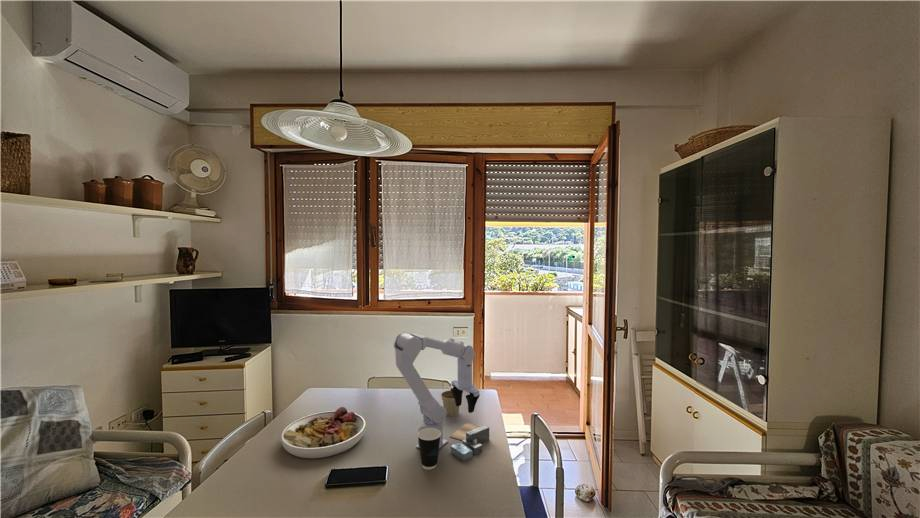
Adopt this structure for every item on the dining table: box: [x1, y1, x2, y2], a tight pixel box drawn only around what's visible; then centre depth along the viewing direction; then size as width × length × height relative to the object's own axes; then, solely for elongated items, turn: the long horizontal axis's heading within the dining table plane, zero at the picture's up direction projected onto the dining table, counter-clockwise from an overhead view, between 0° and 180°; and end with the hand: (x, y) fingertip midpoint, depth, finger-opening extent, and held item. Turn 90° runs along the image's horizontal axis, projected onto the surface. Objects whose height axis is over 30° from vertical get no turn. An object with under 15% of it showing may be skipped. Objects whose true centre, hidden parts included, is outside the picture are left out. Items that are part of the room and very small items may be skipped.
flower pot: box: [440, 389, 460, 417], centre depth 167 cm, size 9×9×9 cm
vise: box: [450, 439, 477, 462], centre depth 136 cm, size 9×7×4 cm
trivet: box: [449, 422, 481, 442], centre depth 150 cm, size 13×9×1 cm
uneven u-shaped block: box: [462, 424, 490, 456], centre depth 140 cm, size 11×7×5 cm, turn 129°
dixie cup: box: [417, 428, 441, 471], centre depth 128 cm, size 8×8×11 cm
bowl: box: [280, 406, 366, 459], centre depth 145 cm, size 30×30×8 cm
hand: (464, 408), depth 149 cm, fingers open, 7 cm apart
